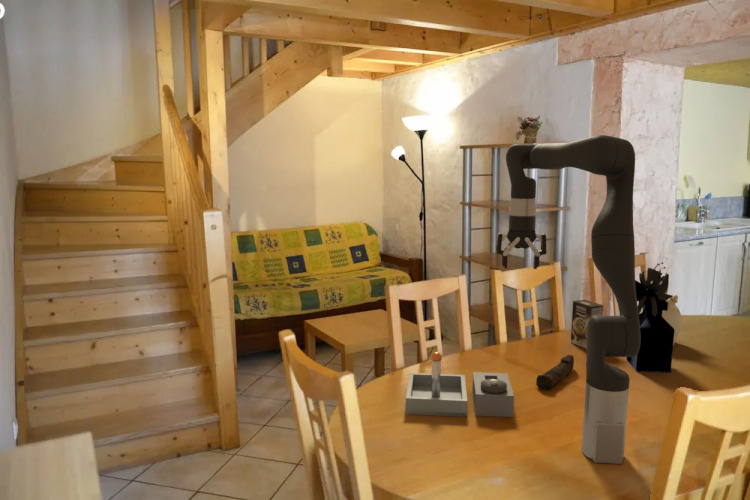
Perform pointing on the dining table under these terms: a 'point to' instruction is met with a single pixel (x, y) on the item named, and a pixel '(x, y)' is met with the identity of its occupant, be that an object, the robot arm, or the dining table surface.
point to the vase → (653, 324)
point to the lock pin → (436, 374)
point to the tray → (446, 405)
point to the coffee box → (583, 320)
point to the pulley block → (492, 394)
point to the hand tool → (556, 373)
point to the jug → (672, 315)
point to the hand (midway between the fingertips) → (520, 268)
